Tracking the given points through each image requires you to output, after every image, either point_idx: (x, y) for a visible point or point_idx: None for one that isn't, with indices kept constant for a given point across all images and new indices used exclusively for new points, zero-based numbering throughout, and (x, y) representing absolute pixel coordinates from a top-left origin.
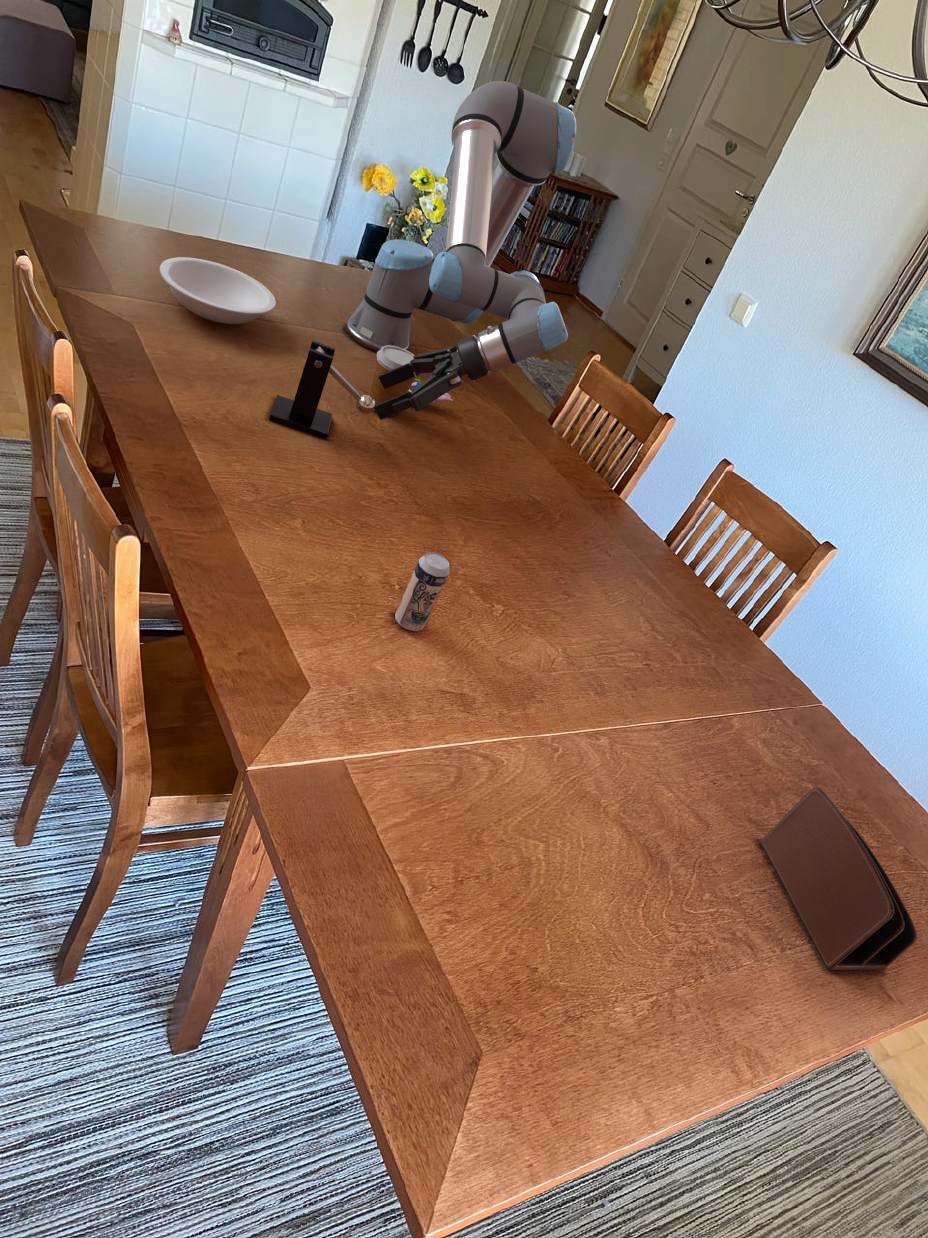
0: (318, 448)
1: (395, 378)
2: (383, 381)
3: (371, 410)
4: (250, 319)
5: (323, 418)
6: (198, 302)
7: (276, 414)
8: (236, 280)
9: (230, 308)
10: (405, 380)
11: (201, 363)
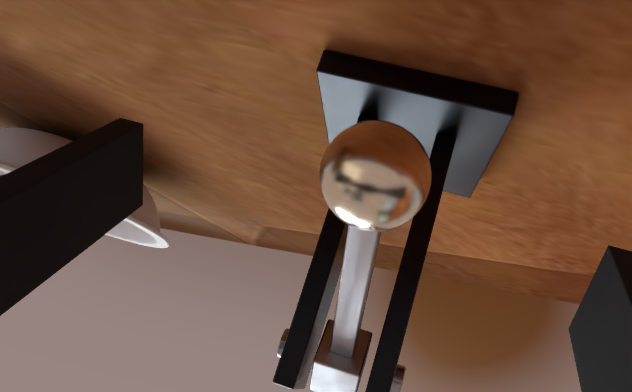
0: (610, 124)
1: (81, 201)
2: (133, 177)
3: (418, 166)
4: None
5: (384, 101)
6: (158, 228)
7: (458, 189)
8: None
9: (128, 221)
10: (29, 186)
11: (301, 201)
